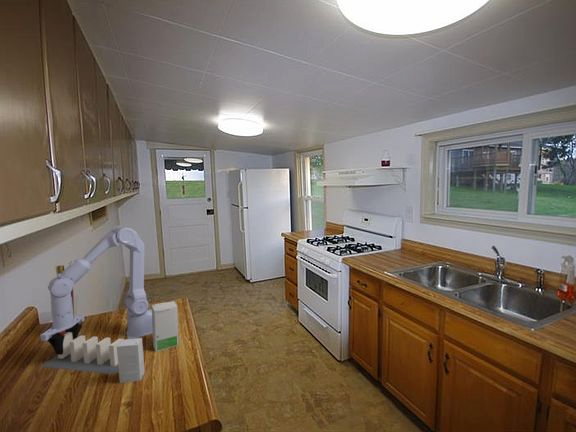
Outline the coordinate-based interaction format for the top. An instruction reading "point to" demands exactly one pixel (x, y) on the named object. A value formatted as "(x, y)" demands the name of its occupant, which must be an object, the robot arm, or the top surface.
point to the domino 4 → (103, 351)
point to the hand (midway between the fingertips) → (66, 349)
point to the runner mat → (81, 365)
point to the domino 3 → (90, 349)
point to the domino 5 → (114, 352)
